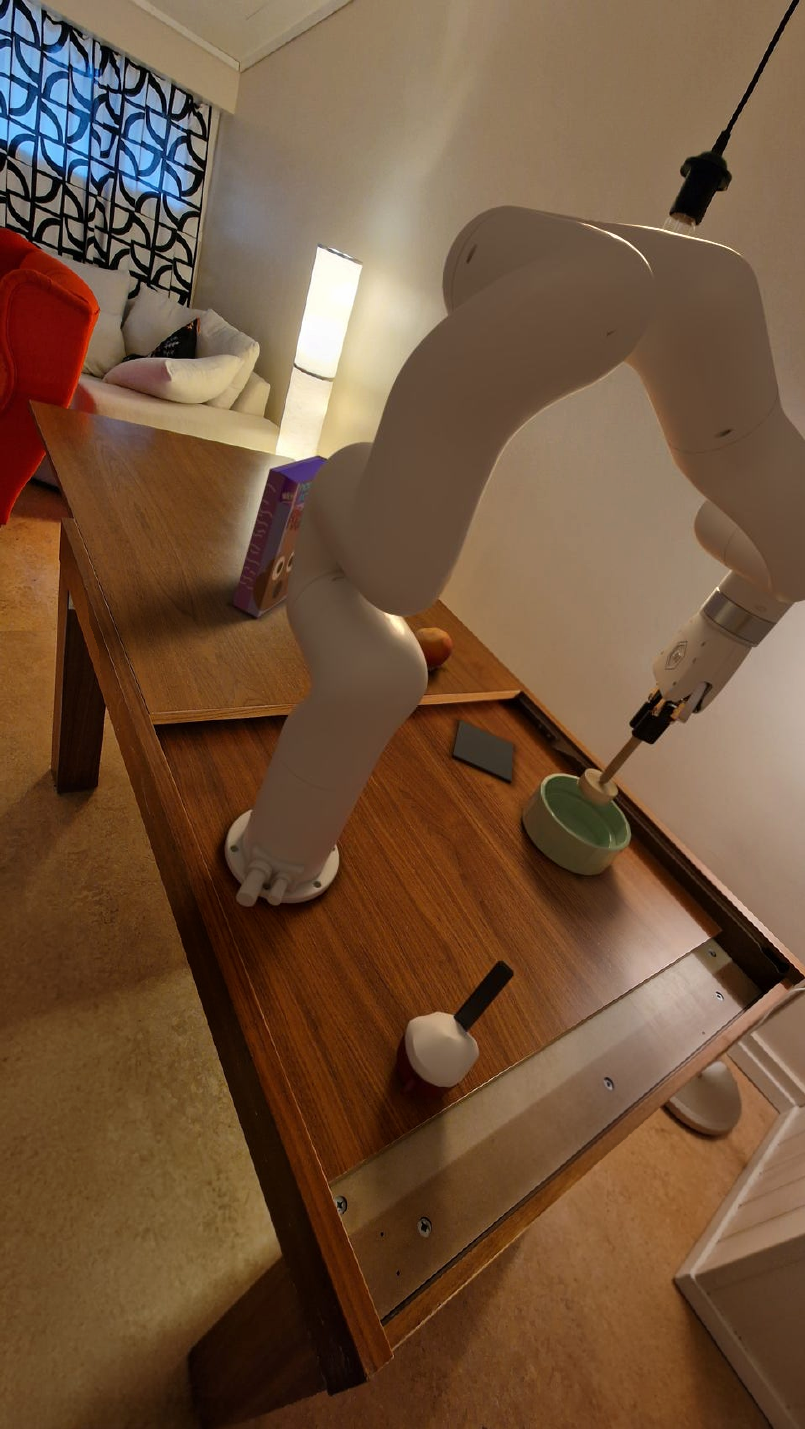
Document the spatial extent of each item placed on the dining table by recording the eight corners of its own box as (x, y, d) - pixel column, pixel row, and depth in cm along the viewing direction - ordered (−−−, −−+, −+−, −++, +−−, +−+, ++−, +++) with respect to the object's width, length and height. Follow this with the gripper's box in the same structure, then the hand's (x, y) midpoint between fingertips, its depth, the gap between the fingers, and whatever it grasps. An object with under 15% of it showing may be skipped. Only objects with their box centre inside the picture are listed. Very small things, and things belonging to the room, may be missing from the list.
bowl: (611, 893, 86) (637, 866, 83) (519, 851, 85) (541, 823, 82) (602, 824, 98) (624, 798, 94) (521, 787, 97) (540, 760, 93)
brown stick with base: (611, 811, 85) (689, 721, 76) (578, 795, 85) (652, 704, 76) (607, 788, 90) (680, 700, 81) (576, 773, 89) (645, 683, 80)
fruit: (441, 679, 110) (439, 634, 107) (403, 675, 114) (399, 633, 111) (460, 666, 116) (458, 624, 114) (423, 663, 120) (420, 622, 117)
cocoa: (396, 1124, 52) (457, 1061, 46) (365, 1050, 56) (418, 981, 49) (480, 1083, 58) (545, 1022, 51) (447, 1018, 62) (504, 953, 55)
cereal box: (257, 618, 104) (298, 482, 91) (232, 605, 104) (270, 467, 91) (302, 588, 119) (343, 467, 106) (280, 576, 119) (318, 454, 106)
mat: (510, 782, 97) (511, 780, 96) (452, 756, 96) (453, 754, 96) (512, 746, 105) (513, 744, 105) (458, 721, 104) (459, 719, 104)
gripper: (692, 580, 78) (608, 693, 88) (725, 631, 65) (622, 756, 75) (744, 606, 78) (655, 715, 88) (787, 662, 65) (676, 782, 75)
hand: (640, 733), depth 81 cm, fingers closed on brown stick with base, 1 cm apart
